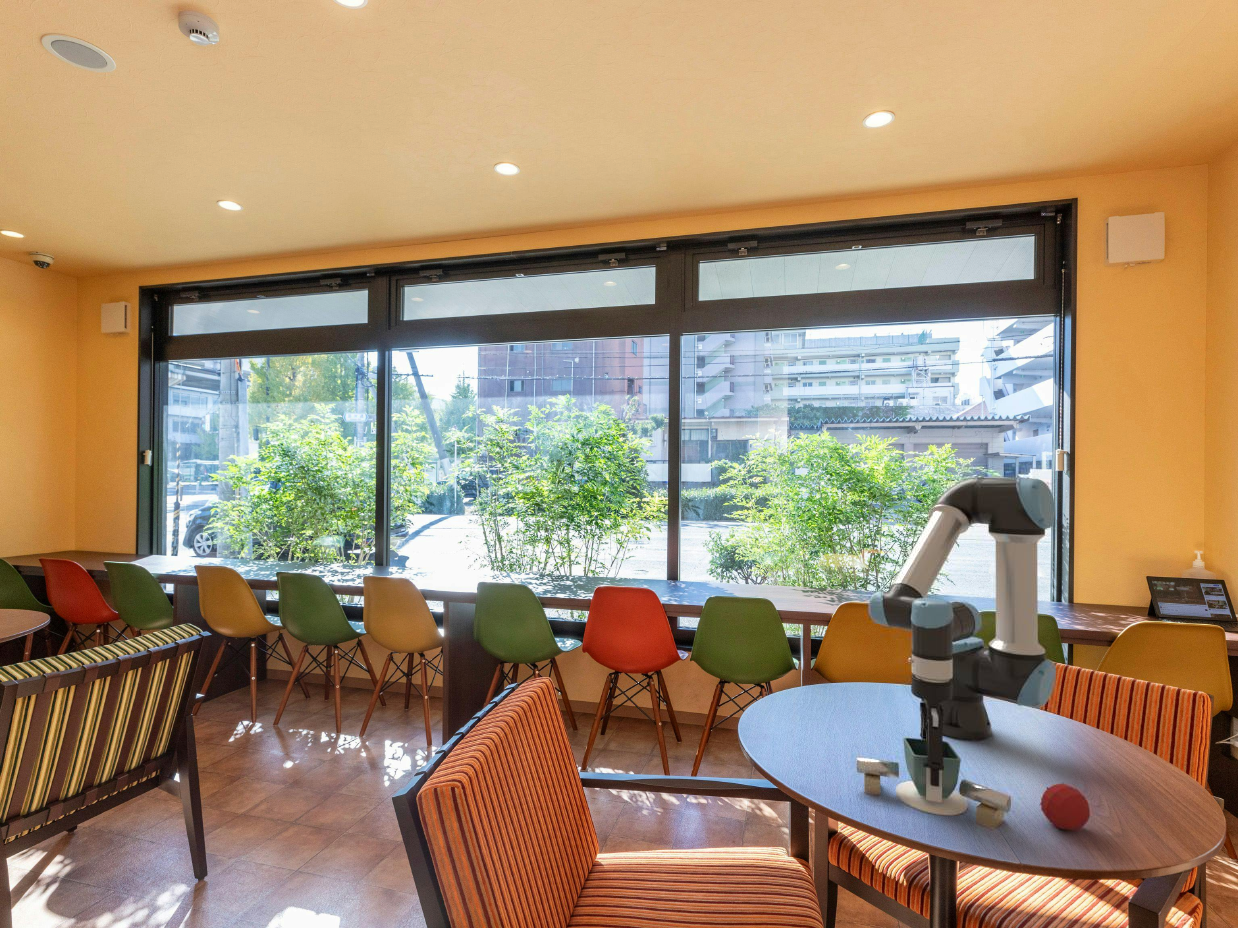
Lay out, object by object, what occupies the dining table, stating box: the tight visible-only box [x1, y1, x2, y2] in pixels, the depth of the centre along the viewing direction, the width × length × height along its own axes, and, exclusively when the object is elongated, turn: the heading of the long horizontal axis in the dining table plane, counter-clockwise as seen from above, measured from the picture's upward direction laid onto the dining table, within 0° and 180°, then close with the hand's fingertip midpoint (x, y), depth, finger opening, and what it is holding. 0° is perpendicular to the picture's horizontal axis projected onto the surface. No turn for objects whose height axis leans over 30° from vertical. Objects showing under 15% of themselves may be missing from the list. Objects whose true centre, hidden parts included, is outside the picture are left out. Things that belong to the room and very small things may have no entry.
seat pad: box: [895, 780, 969, 817], centre depth 129 cm, size 13×13×1 cm
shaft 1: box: [856, 756, 900, 796], centre depth 132 cm, size 8×5×6 cm, turn 70°
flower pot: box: [902, 737, 962, 799], centre depth 129 cm, size 9×9×9 cm
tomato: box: [1039, 783, 1091, 831], centre depth 119 cm, size 8×8×8 cm
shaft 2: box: [958, 779, 1012, 830], centre depth 121 cm, size 8×5×6 cm, turn 40°
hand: (931, 788), depth 129 cm, fingers closed on flower pot, 9 cm apart
